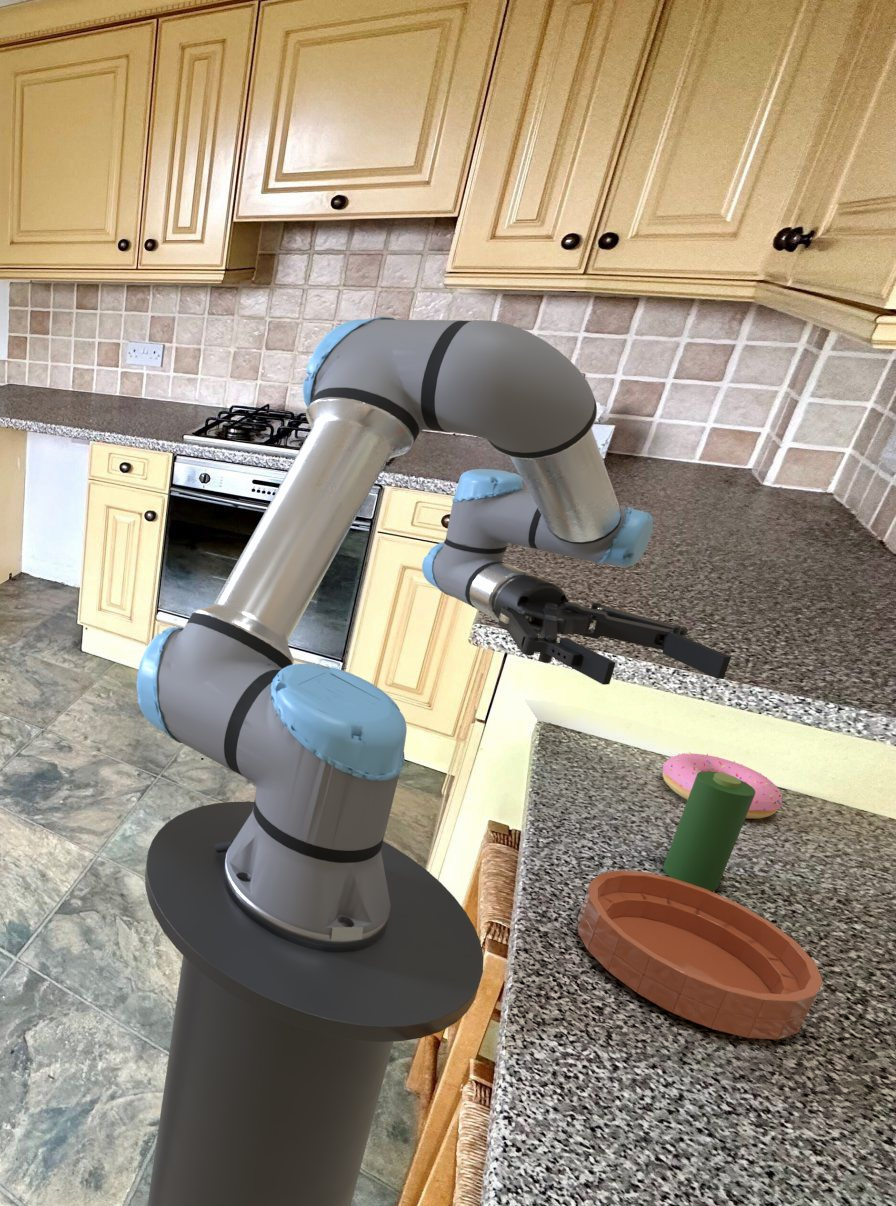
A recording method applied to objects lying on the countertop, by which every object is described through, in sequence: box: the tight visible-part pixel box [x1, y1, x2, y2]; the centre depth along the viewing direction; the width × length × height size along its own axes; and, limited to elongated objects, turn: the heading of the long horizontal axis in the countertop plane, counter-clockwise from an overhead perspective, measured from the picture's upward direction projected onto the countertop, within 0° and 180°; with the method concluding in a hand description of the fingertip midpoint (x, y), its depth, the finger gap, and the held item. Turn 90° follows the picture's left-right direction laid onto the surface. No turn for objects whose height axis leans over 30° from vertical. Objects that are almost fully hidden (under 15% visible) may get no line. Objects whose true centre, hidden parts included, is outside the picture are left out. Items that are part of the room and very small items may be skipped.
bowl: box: [577, 869, 823, 1040], centre depth 71 cm, size 15×15×5 cm
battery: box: [662, 771, 756, 892], centre depth 82 cm, size 4×4×13 cm
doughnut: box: [662, 751, 784, 819], centre depth 98 cm, size 11×11×4 cm
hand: (667, 671), depth 86 cm, fingers open, 13 cm apart
